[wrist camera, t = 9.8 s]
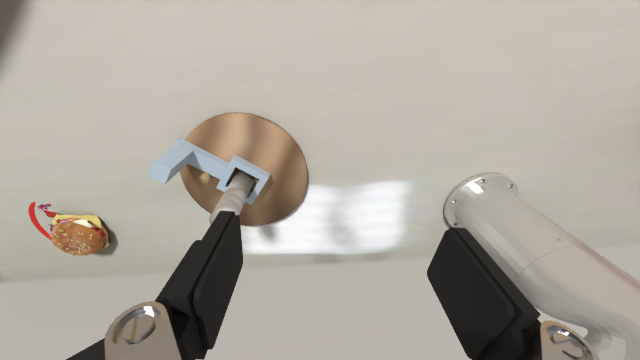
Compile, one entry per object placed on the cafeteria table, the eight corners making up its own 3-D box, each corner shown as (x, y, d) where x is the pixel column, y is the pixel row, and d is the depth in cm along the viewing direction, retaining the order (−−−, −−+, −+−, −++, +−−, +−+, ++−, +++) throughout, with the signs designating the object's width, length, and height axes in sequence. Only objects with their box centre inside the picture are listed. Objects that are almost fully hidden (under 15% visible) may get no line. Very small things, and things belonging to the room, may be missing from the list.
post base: (318, 127, 35) (322, 161, 24) (296, 227, 44) (292, 284, 34) (177, 99, 32) (112, 123, 21) (186, 212, 41) (144, 268, 31)
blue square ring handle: (270, 173, 37) (261, 200, 30) (253, 199, 39) (241, 229, 32) (184, 127, 32) (153, 146, 26) (171, 160, 35) (139, 185, 28)
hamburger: (104, 193, 40) (73, 215, 34) (129, 252, 46) (106, 277, 41) (13, 188, 38) (-33, 210, 33) (53, 249, 45) (19, 275, 40)
